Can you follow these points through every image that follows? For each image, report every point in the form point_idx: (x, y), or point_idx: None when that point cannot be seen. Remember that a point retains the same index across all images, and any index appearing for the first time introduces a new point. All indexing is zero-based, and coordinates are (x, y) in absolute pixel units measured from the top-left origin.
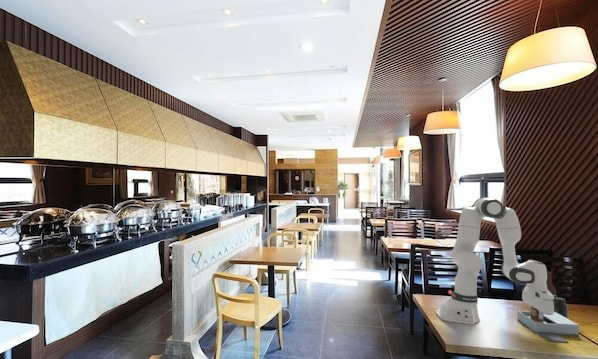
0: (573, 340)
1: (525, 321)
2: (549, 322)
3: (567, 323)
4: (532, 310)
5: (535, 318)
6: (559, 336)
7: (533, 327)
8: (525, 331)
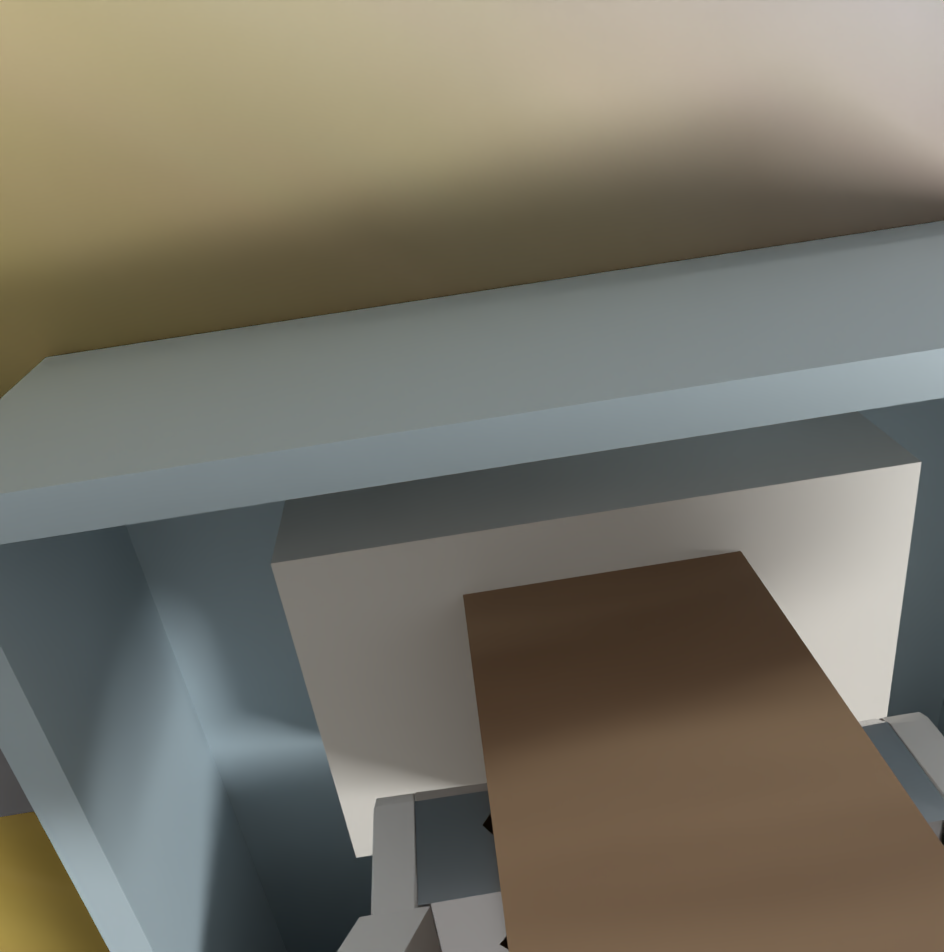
0: (28, 938)
1: (619, 310)
2: None
3: None
4: (764, 877)
5: (477, 674)
6: (20, 798)
7: (155, 377)
8: (4, 24)
